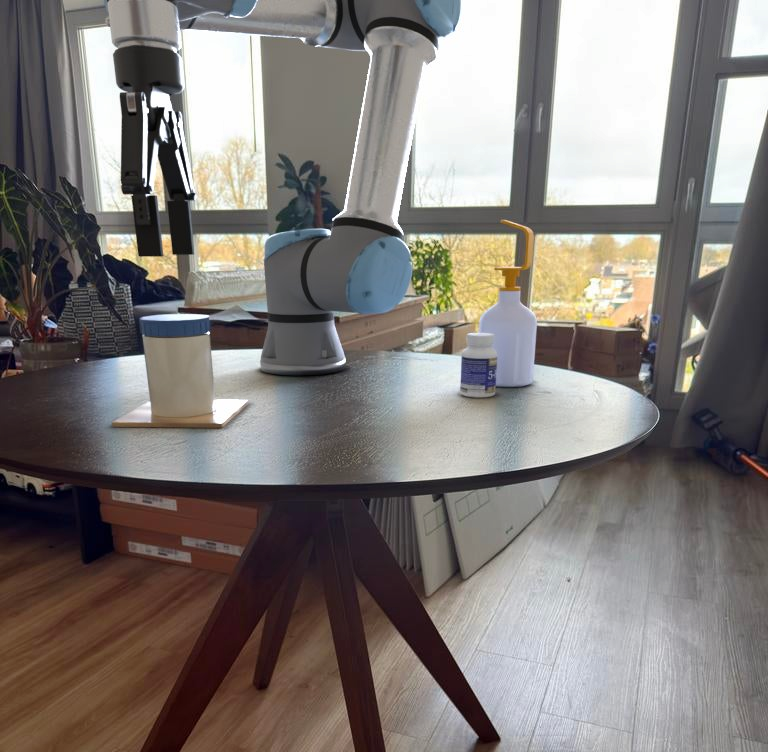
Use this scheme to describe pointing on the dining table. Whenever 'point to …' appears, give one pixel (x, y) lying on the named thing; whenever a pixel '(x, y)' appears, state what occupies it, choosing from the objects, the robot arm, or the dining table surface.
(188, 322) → the lid
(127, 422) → the mat
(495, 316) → the soap bottle
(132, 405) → the dining table surface
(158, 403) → the jar
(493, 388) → the pill bottle
